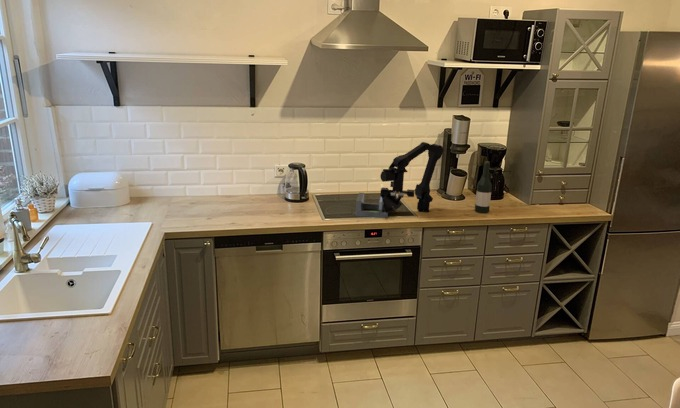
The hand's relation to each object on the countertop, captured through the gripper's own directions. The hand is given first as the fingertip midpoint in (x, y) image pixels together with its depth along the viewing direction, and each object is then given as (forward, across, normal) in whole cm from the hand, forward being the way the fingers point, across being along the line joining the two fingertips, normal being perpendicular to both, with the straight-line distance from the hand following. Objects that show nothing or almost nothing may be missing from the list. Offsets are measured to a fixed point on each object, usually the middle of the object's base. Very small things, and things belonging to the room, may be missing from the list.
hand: (396, 206), depth 292 cm
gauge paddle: (+4, +9, +3) cm, 10 cm away
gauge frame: (+5, +12, 0) cm, 13 cm away
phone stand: (+2, +1, -1) cm, 2 cm away
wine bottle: (+4, -50, -17) cm, 53 cm away
